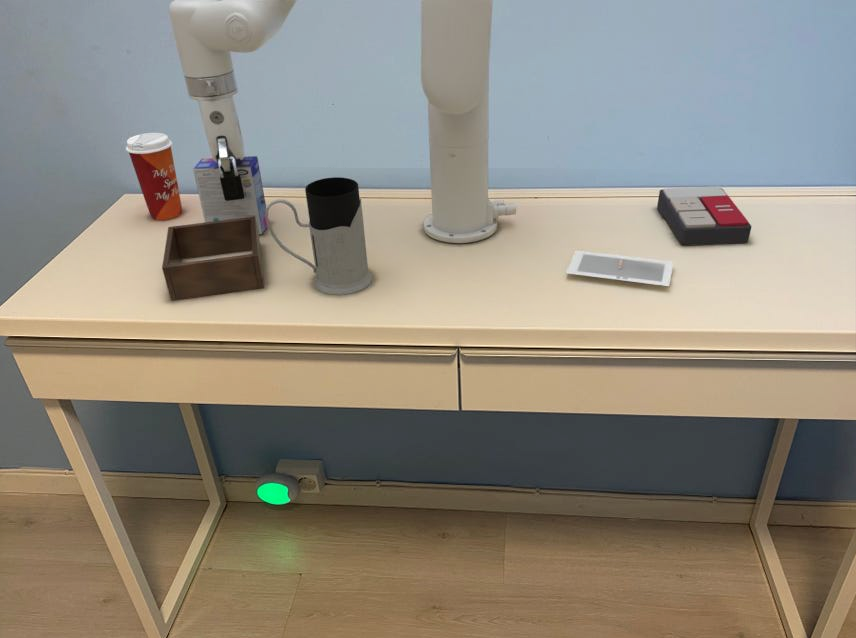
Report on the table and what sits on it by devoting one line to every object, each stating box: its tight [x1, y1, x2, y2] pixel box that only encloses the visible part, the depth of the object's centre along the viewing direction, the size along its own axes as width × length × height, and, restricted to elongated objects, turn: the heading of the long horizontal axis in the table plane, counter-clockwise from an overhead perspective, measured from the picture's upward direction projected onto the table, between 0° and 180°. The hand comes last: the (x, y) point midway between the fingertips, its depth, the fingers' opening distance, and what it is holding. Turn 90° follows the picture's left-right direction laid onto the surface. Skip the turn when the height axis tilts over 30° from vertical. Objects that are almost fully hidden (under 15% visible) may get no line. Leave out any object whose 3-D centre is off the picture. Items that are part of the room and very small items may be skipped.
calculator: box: [656, 185, 753, 247], centre depth 126 cm, size 11×4×15 cm
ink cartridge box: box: [192, 155, 268, 235], centre depth 127 cm, size 10×6×14 cm, turn 90°
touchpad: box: [565, 250, 675, 287], centre depth 113 cm, size 8×15×2 cm, turn 71°
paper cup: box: [125, 132, 183, 221], centre depth 134 cm, size 8×8×14 cm
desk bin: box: [161, 216, 265, 302], centre depth 116 cm, size 14×15×6 cm
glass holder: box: [266, 176, 373, 296], centre depth 110 cm, size 9×14×15 cm, turn 99°
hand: (234, 188), depth 127 cm, fingers open, 9 cm apart
